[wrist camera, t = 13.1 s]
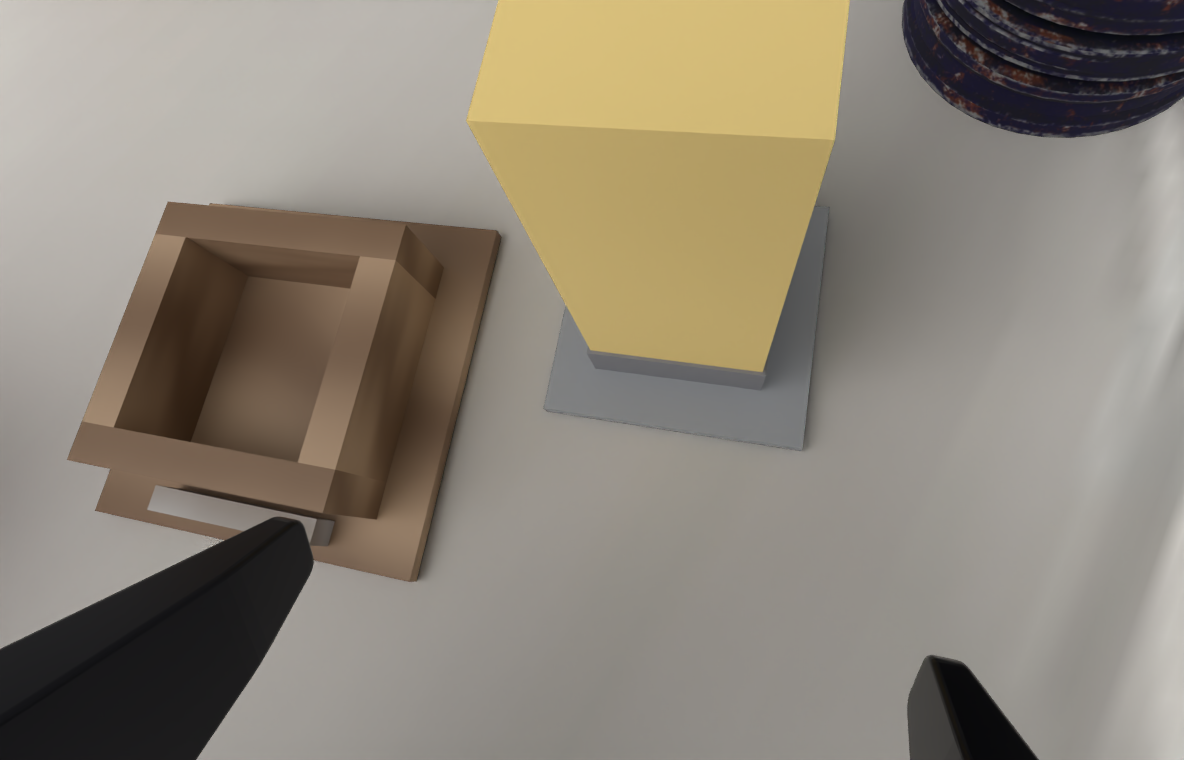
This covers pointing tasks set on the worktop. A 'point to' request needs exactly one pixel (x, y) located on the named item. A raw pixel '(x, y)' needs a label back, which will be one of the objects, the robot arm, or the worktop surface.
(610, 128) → the plug
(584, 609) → the worktop surface
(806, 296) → the stand
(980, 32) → the storage jar
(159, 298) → the socket
